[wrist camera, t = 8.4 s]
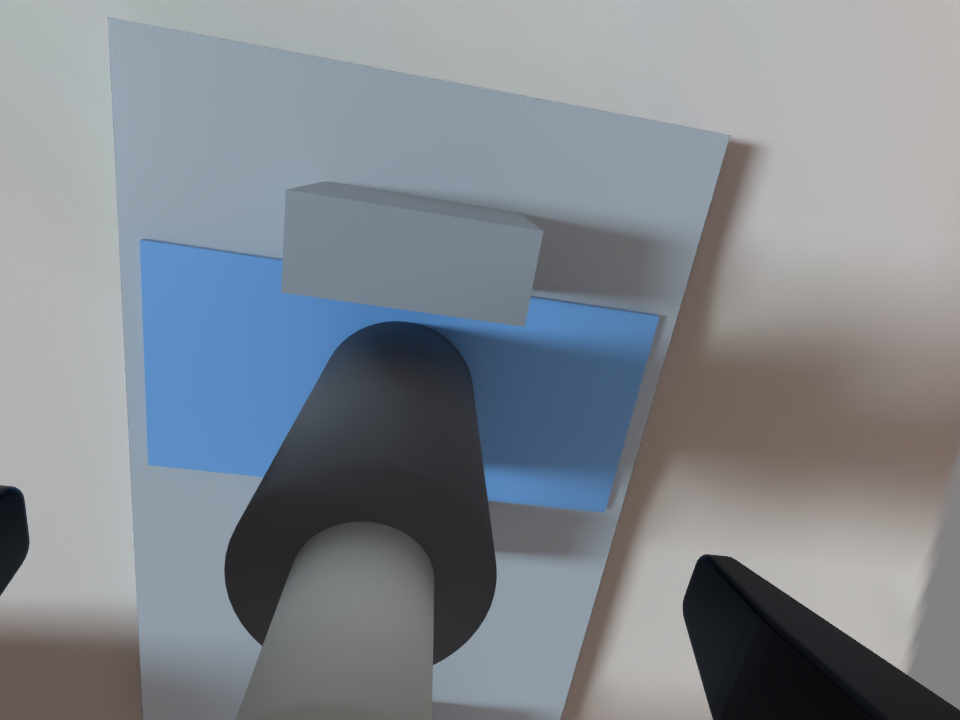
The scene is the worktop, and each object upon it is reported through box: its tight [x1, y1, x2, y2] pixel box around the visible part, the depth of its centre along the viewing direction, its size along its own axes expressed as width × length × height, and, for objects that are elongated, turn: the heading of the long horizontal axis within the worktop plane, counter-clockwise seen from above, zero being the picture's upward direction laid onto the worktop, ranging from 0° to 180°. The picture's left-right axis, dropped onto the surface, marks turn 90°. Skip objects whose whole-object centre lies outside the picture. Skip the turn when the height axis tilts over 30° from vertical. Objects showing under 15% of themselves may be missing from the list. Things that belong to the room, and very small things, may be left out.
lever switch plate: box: [108, 17, 730, 720], centre depth 13 cm, size 12×20×4 cm, turn 171°
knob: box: [224, 321, 497, 720], centre depth 9 cm, size 3×3×8 cm
